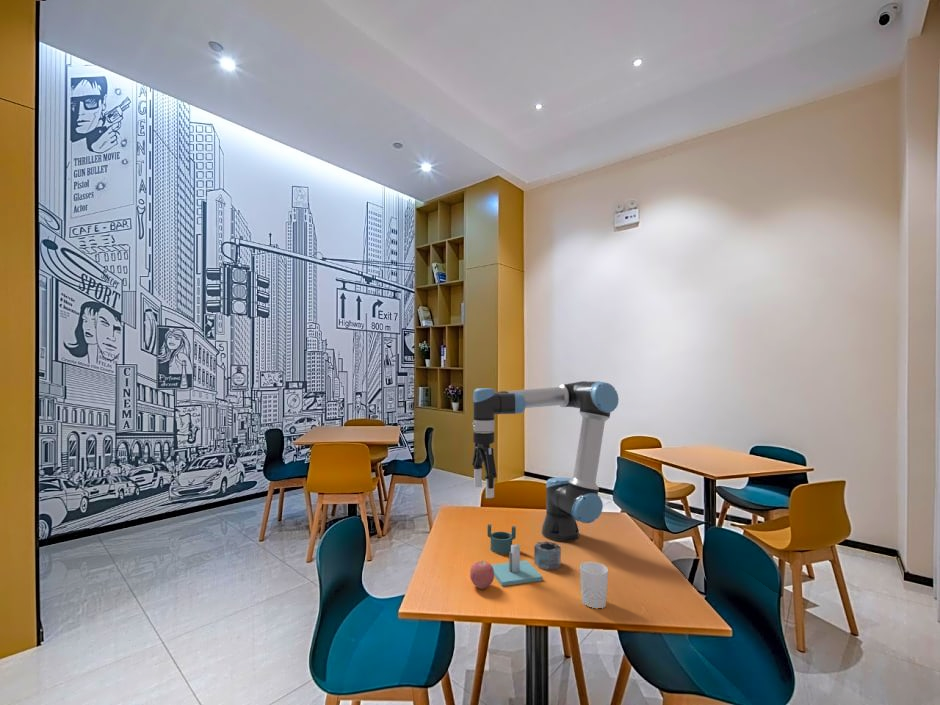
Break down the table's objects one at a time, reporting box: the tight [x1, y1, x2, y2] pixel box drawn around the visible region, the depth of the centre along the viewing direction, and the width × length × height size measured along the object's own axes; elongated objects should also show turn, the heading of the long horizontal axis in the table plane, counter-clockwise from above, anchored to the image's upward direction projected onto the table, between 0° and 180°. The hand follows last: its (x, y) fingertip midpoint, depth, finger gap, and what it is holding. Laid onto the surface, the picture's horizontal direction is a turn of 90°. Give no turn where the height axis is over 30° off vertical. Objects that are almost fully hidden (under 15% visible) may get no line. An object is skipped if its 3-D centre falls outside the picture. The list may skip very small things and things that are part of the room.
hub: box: [533, 541, 562, 571], centre depth 144 cm, size 8×8×6 cm
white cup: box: [579, 561, 609, 609], centre depth 120 cm, size 8×8×10 cm
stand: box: [491, 543, 544, 587], centre depth 136 cm, size 14×12×9 cm
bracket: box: [486, 524, 517, 555], centre depth 156 cm, size 9×9×9 cm
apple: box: [469, 560, 495, 589], centre depth 128 cm, size 7×7×8 cm
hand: (483, 492), depth 145 cm, fingers open, 13 cm apart
